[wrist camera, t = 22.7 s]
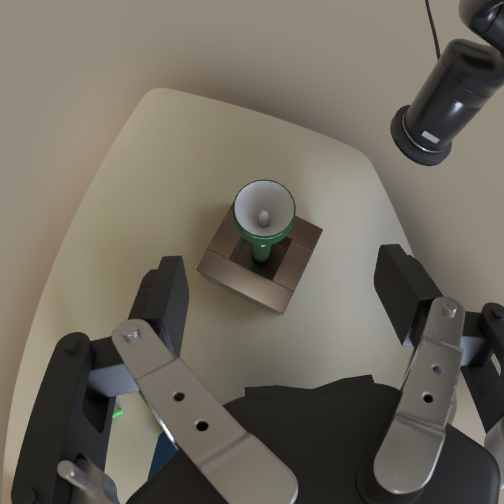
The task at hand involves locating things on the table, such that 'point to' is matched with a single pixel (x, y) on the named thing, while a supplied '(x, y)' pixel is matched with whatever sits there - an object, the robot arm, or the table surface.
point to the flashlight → (263, 216)
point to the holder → (248, 282)
